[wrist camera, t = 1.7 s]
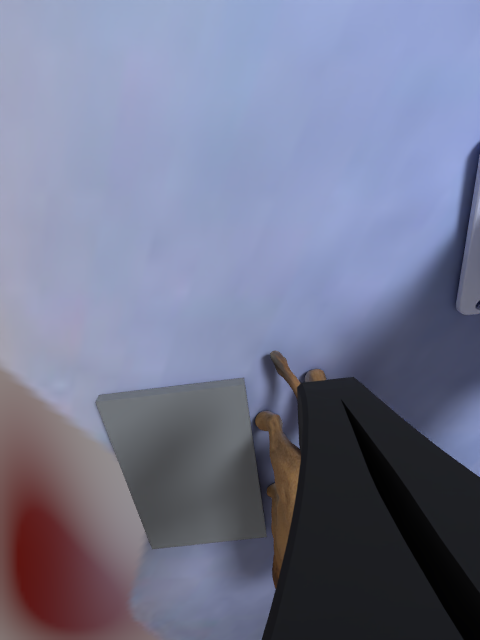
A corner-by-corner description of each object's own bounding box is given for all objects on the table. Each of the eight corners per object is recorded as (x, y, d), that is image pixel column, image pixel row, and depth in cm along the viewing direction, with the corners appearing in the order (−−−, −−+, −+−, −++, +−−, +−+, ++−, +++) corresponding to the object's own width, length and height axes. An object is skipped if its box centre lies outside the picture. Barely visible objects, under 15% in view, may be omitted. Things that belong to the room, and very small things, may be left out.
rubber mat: (244, 377, 19) (244, 384, 19) (265, 528, 25) (266, 537, 25) (99, 395, 20) (95, 402, 19) (153, 540, 25) (152, 549, 25)
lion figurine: (351, 513, 25) (409, 691, 17) (276, 528, 25) (298, 708, 17) (319, 334, 18) (389, 483, 10) (219, 357, 19) (213, 517, 11)
